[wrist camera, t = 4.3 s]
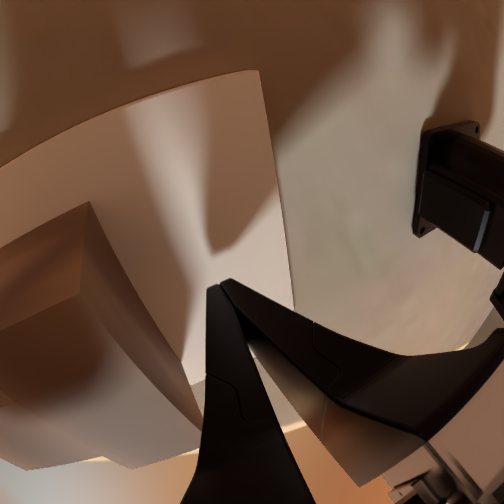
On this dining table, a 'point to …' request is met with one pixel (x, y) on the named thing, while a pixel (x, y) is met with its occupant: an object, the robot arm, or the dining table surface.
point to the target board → (168, 199)
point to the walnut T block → (84, 356)
